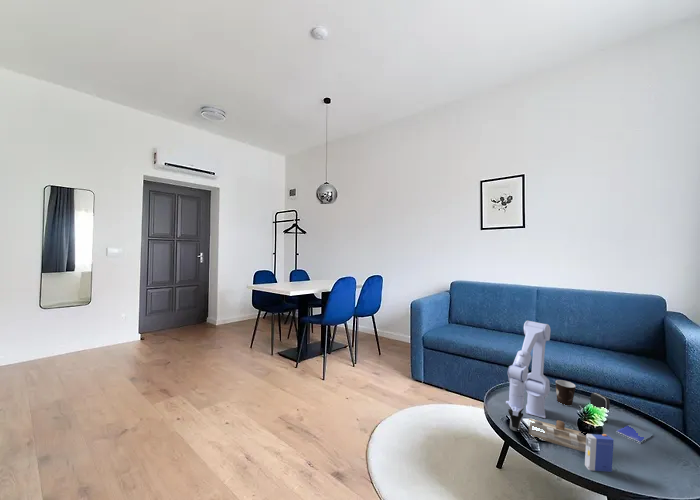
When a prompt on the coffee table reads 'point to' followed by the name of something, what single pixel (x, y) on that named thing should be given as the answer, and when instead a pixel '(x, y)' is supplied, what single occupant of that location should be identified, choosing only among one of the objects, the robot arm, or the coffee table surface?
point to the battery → (599, 401)
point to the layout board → (559, 434)
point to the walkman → (599, 452)
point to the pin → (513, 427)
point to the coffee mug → (565, 392)
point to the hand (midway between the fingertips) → (515, 424)
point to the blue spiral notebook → (630, 433)
